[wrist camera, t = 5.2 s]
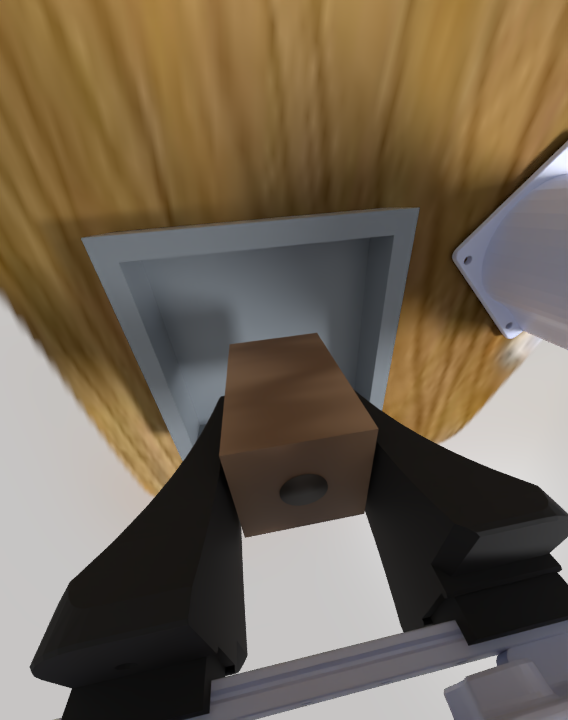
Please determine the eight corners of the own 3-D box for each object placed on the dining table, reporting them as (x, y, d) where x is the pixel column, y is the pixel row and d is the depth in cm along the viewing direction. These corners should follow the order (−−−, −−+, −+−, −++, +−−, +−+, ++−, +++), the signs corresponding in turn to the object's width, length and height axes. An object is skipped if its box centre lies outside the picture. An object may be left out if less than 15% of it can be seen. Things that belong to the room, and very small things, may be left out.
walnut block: (316, 332, 11) (379, 430, 6) (317, 400, 13) (364, 515, 8) (229, 344, 11) (219, 458, 6) (243, 411, 13) (244, 539, 8)
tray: (385, 207, 13) (419, 207, 11) (361, 403, 21) (378, 430, 18) (114, 231, 12) (80, 238, 10) (191, 430, 20) (183, 463, 17)
